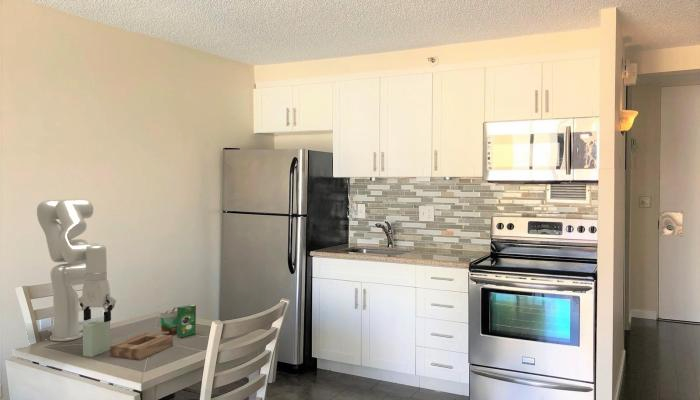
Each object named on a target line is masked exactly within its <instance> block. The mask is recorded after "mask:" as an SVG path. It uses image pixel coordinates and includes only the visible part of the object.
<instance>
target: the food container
mask: <svg viewBox="0 0 700 400" xmlns="http://www.w3.org/2000/svg"><path fill="white" fill-rule="evenodd" d="M177 307H178V306H177ZM177 307H174V306H173V309H171V310H167V311H165V312H160V315H159V319H160V327H161V334H163V335H172V336H174V335H177Z"/></svg>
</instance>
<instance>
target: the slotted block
mask: <svg viewBox="0 0 700 400" xmlns="http://www.w3.org/2000/svg"><path fill="white" fill-rule="evenodd" d="M173 337H174V335H163V334H162V333H161V334H160V333H150V332H142V333H139V334H136V335H134V336H131V337H128V338H126V339H123V340H121V341H119V342H116V343H114V344H110V350H109V357H113V358H114V357H115V358H121V359H131V360H137V361H138V360H139V361H141V360H143V359H146V358H148V357H151V356H152V355H154V354H156V353H159V352H161V351H164V350H166V349H168V348H170V347H173V344H174V342H173V341H174V338H173Z"/></svg>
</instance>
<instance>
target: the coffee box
mask: <svg viewBox="0 0 700 400" xmlns="http://www.w3.org/2000/svg"><path fill="white" fill-rule="evenodd" d="M196 319H197V305H196V304H189V305H188V304H187V305H182V306H177V334H176V337H177V338H179V339H181V338H185V337H189V336H193V335H196V334H197V333H196V328H197V327H196V325H197V324H196V322H197V321H196Z"/></svg>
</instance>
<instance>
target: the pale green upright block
mask: <svg viewBox="0 0 700 400" xmlns="http://www.w3.org/2000/svg"><path fill="white" fill-rule="evenodd" d="M82 333H83V336H82V356H83V357H90V358H92V357H95V356H98V355H101V354H102V353H104V352H107V351H110V346H111V321H108V322H104V318H100V319H97V320H93V321H91V322H87V323H85V324H82Z"/></svg>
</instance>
